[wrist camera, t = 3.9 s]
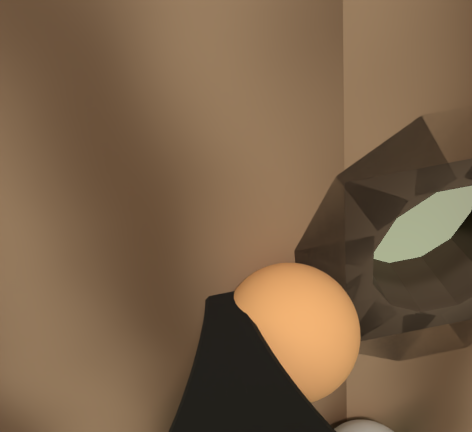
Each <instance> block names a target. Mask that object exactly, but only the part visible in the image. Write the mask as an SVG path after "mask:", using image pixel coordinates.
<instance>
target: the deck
mask: <svg viewBox="0 0 472 432" xmlns="http://www.w3.org/2000/svg"><path fill="white" fill-rule="evenodd" d="M471 185H472V0H0V432H169V430H170V427H171V425H172V422H173V420H174V418H175V415H176V413H177V410H178V407H179V405H180V402H181V399H182V396H183V393H184V390H185V387H186V384H187V381H188V378H189V375H190V372H191V369H192V366H193V362H194V358H195V355H196V351H197V347H198V343H199V339H200V335H201V330H202V325H203V319H204V312H205V300H206V299H207V298H208V297H209V296H212V295H217V294H222V293H227V292H232V291H235V289H236V288H237V287H238V286H239V285H240V284H241V283H242V282H243V281H244V280H245V279H246V278H247V277H248V276H249V275H251V274H252V273H254V272H256V271H257V270H259V269H262V268H264V267H266V266H269V265H273V264H278V263H300V264H305V265H309V266H312V267H315V268H317V269H319V270H321V271H323V272H324V273H326V274H328V275H329V276H330V277H332V278H333V279H334V280H335V281H337V282H338V283H339V284H340V285H341V286H342V288H343V289H344V290H345V292H346V293H347V294H348V296H349V297H350V299H351V301H352V303H353V305H354V307H355V309H356V312H357V315H358V319H359V324H360V337H361V340H360V348H359V353H358V357H357V360H356V362H355V365H354V367H353V369H352V371H351V373H350V374H349V376H348V377H347V379H346V380H345V381H344V382H343V383H342V384H341V386H339V387H338V388H337V389H336V390H335V391H334V392H332V393H331V394H329V395H328V396H326V397H324V398H322V399H320V400H318V401H315V402H311V404H312V405H313V406H314V407H315V409H316V410H317V411H318V412H319V413H320V414H321V415H322V416H323V418H324V419H325V420H326V421H327V422H328V423H329V424H330V425H331V427H332V428H333V429H335V428H336V427H337V426H339V425H341V424H343V423H345V422H348V421H351V420H371V421H375V422H378V423H380V424H383V425H385V426H386V427H388V428H390V429H391V430H393V431H394V432H472V211H471V213H470V214H469V215H468V217H467V218H466V219H465V221H464V222H463V223H462V225H461V226H460V227H459V228H458V230H457V231H456V232H455V234H454V235H453V236H452V238H451V239H449V240H448V241H446V242H444V243H443V244H441V245H440V246H438V247H436V248H435V249H433V250H432V251H430V252H428V253H427V254H425V255H424V256H422V257H418V258H413V259H408V260H403V261H398V262H393V263H387V262H382V261H379V260H375V259H373V257H374V251H375V249H376V248H377V247H378V245H379V244H380V242H381V241H382V239H383V238H384V236H385V235H386V233H387V232H388V230H389V229H390V227H391V226H392V224H393V223H394V221H395V220H396V218H398V217H399V216H401V215H402V214H404V213H405V212H407V211H408V210H410V209H411V208H413V207H414V206H416V205H418V204H419V203H420V202H422V201H424V200H425V199H427V198H428V197H430V196H431V195H433V194H434V193H436V192H440V191H445V190H449V189H455V188H460V187H465V186H471Z"/></svg>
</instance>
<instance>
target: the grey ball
mask: <svg viewBox="0 0 472 432" xmlns="http://www.w3.org/2000/svg"><path fill="white" fill-rule="evenodd" d="M334 430H335V431H336V432H394V431H393V430H391V429H390V428H388V427H386V426H385V425H383V424H380V423H378V422H375V421H371V420H351V421H348V422H345V423H343V424H341V425H339V426H337V427H336V428H335V429H334Z"/></svg>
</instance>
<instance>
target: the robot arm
mask: <svg viewBox="0 0 472 432" xmlns="http://www.w3.org/2000/svg"><path fill="white" fill-rule="evenodd" d="M234 292H235V291H232V292H227V293H222V294H217V295H212V296H209V297H208V298H207V299H206V300H205V312H204V319H203V325H202V330H201V335H200V339H199V343H198V347H197V351H196V355H195V358H194V362H193V366H192V369H191V372H190V375H189V378H188V381H187V384H186V387H185V390H184V393H183V396H182V399H181V402H180V405H179V407H178V410H177V413H176V415H175V418H174V420H173V422H172V425H171V427H170V430H169V432H336V431H335V430H334V429H333V428H332V427H331V425H330V424H329V423H328V422H327V421H326V420H325V419H324V418H323V416H322V415H321V414H320V413H319V412H318V411H317V410H316V409H315V407H314V406H313V405H312V404H311V403H310V401H309V400H308V399H307V398H306V397H305V395H304V394H303V393H302V392H301V390H300V389H299V388H298V387H297V385H296V384H295V383H294V381H293V380H292V379H291V377H290V376H289V375H288V373H287V372H286V370H285V369H284V368H283V366H282V365H281V364H280V362H279V361H278V359H277V358H276V356H275V355H274V353H273V352H272V350H271V348H270V347H269V345H268V344H267V342H266V341H265V339H264V337H263V336H262V334H261V332H260V331H259V329H258V327H257V325H256V324H255V323H254V322H253V321H252V320H251V318H250V317H249V316H248V315H247V314H246V313H245V312H243V311H242V310H241V309H240V308H239V307H238V306H237V304H236V303H235V300H234Z"/></svg>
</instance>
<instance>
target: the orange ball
mask: <svg viewBox="0 0 472 432" xmlns="http://www.w3.org/2000/svg"><path fill="white" fill-rule="evenodd" d="M234 300H235V303H236V304H237V306H238V307H239V308H240V309H241V310H242V311H243V312H245V313H246V314H247V315H248V316H249V317H250V318H251V320H252V321H253V322H254V323H255V324H256V325H257V327H258V329H259V331H260V332H261V334H262V336H263V337H264V339H265V341H266V342H267V344H268V345H269V347H270V348H271V350H272V352H273V353H274V355H275V356H276V358H277V359H278V361H279V362H280V364H281V365H282V366H283V368H284V369H285V370H286V372H287V373H288V375H289V376H290V377H291V379H292V380H293V381H294V383H295V384H296V385H297V387H298V388H299V389H300V390H301V392H302V393H303V394H304V395H305V397H306V398H307V399H308V400H309V401H310V403H311V402H315V401H318V400H320V399H322V398H324V397H326V396H328V395H329V394H331V393H332V392H334V391H335V390H336V389H337V388H338V387H339V386H341V384H342V383H343V382H344V381H345V380H346V379H347V377H348V376H349V374H350V373H351V371H352V369H353V367H354V365H355V362H356V360H357V357H358V353H359V348H360V340H361V337H360V324H359V319H358V315H357V312H356V309H355V307H354V305H353V303H352V301H351V299H350V297H349V296H348V294H347V293H346V292H345V290H344V289H343V288H342V286H341V285H340V284H339V283H338V282H337V281H335V280H334V279H333V278H332V277H330V276H329V275H328V274H326V273H324V272H323V271H321V270H319V269H317V268H315V267H312V266H309V265H305V264H300V263H278V264H273V265H269V266H266V267H264V268H262V269H259V270H257V271H256V272H254V273H252V274H251V275H249V276H248V277H247V278H246V279H245V280H244V281H243V282H242V283H241V284H240V285H239V286H238V287H237V288H236V289H235V292H234Z"/></svg>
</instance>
